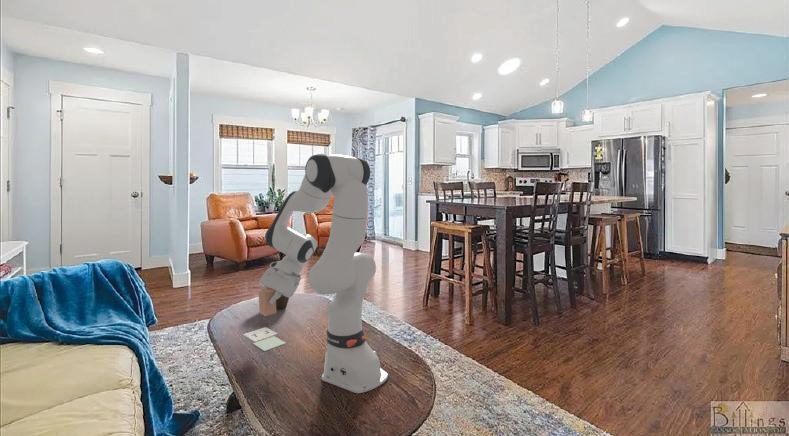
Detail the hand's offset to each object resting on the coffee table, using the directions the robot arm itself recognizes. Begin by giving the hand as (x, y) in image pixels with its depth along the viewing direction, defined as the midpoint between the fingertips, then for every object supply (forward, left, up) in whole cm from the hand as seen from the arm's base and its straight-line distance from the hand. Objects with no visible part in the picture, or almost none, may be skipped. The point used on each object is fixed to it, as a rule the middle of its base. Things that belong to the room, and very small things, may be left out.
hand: (265, 300), depth 146 cm
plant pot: (+34, -25, -18) cm, 46 cm away
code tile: (+10, -3, -17) cm, 21 cm away
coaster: (-1, -1, -17) cm, 17 cm away
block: (0, -1, -5) cm, 5 cm away
